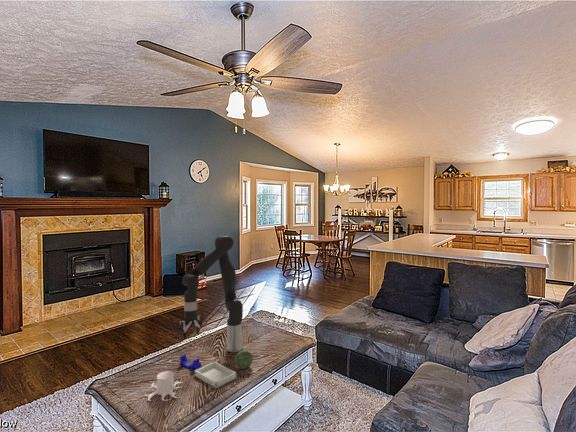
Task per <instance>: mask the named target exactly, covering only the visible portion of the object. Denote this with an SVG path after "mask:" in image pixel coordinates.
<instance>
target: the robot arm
mask: <svg viewBox="0 0 576 432" xmlns="http://www.w3.org/2000/svg"><path fill="white" fill-rule="evenodd" d="M233 245H234V239H233V238H232V237H231V236H229V235H218V236H217V237H216V238H215V240H214V246H215V249H214V250H213V251H211V252H210V253H208V254H207V255H206V256H205V257H202V259H201V260H199V262H198V263H197V264H195V265H196V266H194V267H193V268H191V269H190V270H189V271H188V272H186V273H185V274H184V276H183V277H182V280H181V282H182V285H184V286H185V287H187V290H186V291H185V292H184V297H183V298H184V299H183V300H184V303H183V316H184V320H180V321H179V322H178V331H179V332H180V333H181V335H182V338H183V339H187V331H188V329H189V328H190V327H192V326H195V333H196V335H199V334H200V333H201V332H200V330H201V329H200V327H203V316H202V315H200V314H198V295H197V294H198V290H199V286H200V280H199V277H201V276H204V275H205V274H206V273H207V272H208V270H209V269H211V267H212V266H213V265H214V264H215V263H216V262H217V261H218V265H219V269H220V270H219V271H220V276H221V281H222V288H223V293H224V302H225V303H224V304H225V306H224V307H225V308H226V310H227V311H228V318H227V319H226V329H227V330H226V331H227V333H226V334H227V335H226V339H227V343H226V346H227V347H226V348H227V352H228V353H229V352H230V353H238V352H239V351H241V350H243V348H244V347H243V346H244V344H243V343H244V341H243V340H244V339H243V338H244V335H243V333H242V321H243V313H244V311H243V309H244V307H243V302H241V300H239V299H238V298H237V294H236V284H237V274H236V269H235V266H234V264H233V261H232V260H231V258H230V257H229V253H228V251H230V250H231V249H232V248H233Z"/></svg>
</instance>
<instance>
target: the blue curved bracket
mask: <svg viewBox="0 0 576 432" xmlns="http://www.w3.org/2000/svg"><path fill="white" fill-rule="evenodd" d="M179 359H180V360H179V365H180V366H181V367H183V368H187V369H190V370H192V371H195V370H197V369H199V368H201V367H202V362H201V361H200V358H199V357H196V358H194V359H193V361H192V363H191V362H190V361H189V360H188V358H187V355H186V354H185V353H183V354H182V355H180V357H179Z"/></svg>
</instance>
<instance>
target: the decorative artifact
mask: <svg viewBox="0 0 576 432" xmlns="http://www.w3.org/2000/svg"><path fill="white" fill-rule="evenodd" d="M253 358H254V357H253V354H252V353H251V352H250V350H248V349H241V350H240V351H239V352H236V355H235V357H234V361H235V365H236V366H237V368H239V369H241V370H244V369H248V368H249V367H250V366H251V365H252V363H253V361H254V360H253Z"/></svg>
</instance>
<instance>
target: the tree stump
mask: <svg viewBox="0 0 576 432" xmlns="http://www.w3.org/2000/svg"><path fill="white" fill-rule="evenodd" d="M175 373H177V371H171V370H167V371H161V372H159V373H158V374H157V375H156V384H155V382H152V384H150V386H149V388H148V390H149V389H153V388H154V392H152V393H150V394H148V395H147V394H146V393H145V396H144V397H147V401H148V402H152V399H151V398H153V397H154V396H155V395H158V396H161V400H162V401H163V402H167V401H170V399H169V398H168V399H165V397H166V396H168V395H169V396H170V397H171V398H175V399H178V397H177V396H176V395H177V392H174V390H177V389H180V388H182V387H183V386H184V385H183V386H177V384H183V381H176V382H175V378H174V377H175V376H174V375H175Z"/></svg>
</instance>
